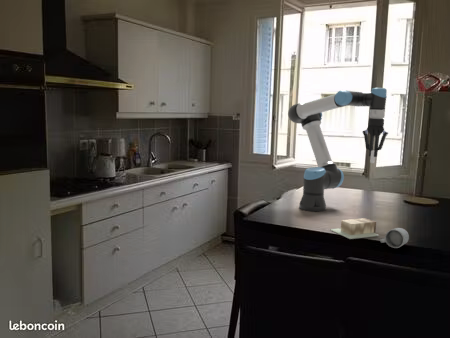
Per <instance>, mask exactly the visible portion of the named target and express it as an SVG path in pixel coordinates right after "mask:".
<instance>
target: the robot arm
mask: <svg viewBox="0 0 450 338" xmlns="http://www.w3.org/2000/svg"><path fill="white" fill-rule="evenodd" d="M387 93H388V92H387V89H386V88H384V87H373V88H371V91H367V92H366V91H355V90H343V89H342V90H339V91H337V92H336V93H334V94H331V95H327V96H325V97H321V98H318V99H316V100H311V101H308V102H305V103H304V102H299V103H295V104H292V105H291V106H290V107H289V109H288V111H287V112H288V113H287V115H288V118H289V121H291V122H292V123H295V124H301V127H302V129H303V130H305V131H306V133H307V138H308V140H309V143H310V146H311V149H312V152H313V155H314V158H315V161H316V164H317V166H314V167H312V166H311V167H308V168H306V169H305V170H304V172H303V173H304V174H303V185H302V186H303V188H302V192H303V193H302V196H301V199H300V201H299V205H298V208H299V209H301V210H304V211H309V212H323V211H326V210H327V204H326V203H327V202H326V199H325V194H324V193H325V190H331V189H332V190H333V189H336V188H339V187H340V186H342V184H343V182H344V179H345V175H344V172H343V170H341V169H340V168H338V166H337V164H336V163H335V162H334V161H332V157H331V154H330V152H329V148H328V146H327V143H326V140H325V137H324V134H323V131H322V129H321V126H320V125H321V124H322V119H323V113H324V112H327V111H331V110H335V109H340V108H343V107H347V106H349V107H350V106H352V107H369V113H368V117H369V118H368V124H367V125H368V126H367V128H366V129H365V130H363V131H362V134H363V137H364V143H365V149H366V150H368V156H369V157H370V160H369V163H370V164H375V162H376V161H375V160H376V158H377V157H378V151H381V150H382V149H383V146H384V143H385V140H386V137H387V136H388V134H389V131H386V130H385V128H384V123H385V119H384V118H385V113H386V103H387V102H386V101H387V95H388V94H387ZM381 134H382V136H381ZM380 136H381V138H380ZM379 141H380V142H379Z"/></svg>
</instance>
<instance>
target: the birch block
mask: <svg viewBox="0 0 450 338" xmlns="http://www.w3.org/2000/svg"><path fill="white" fill-rule="evenodd" d="M340 223H341V224H340V228H341V231H342V232H345V233H347V234H349V235H356V234H366V233H376V231H377V229H376V227H377V221H375V220H372V219H371V218H370V219H369V218H366V217H363V218H362V217H360V218H352V219H351V218H350V219H341V221H340Z"/></svg>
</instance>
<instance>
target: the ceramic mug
mask: <svg viewBox="0 0 450 338" xmlns="http://www.w3.org/2000/svg"><path fill="white" fill-rule="evenodd" d="M409 240H410V235H409V232H408V231H407V230H406V229H405V228H402V227H395V228H391V229H390V230H388V231H386V233H385V236H384V238H383V237H382V238H380V239H379V241H380V243H381V244H382V243H383V244H384V243H386V245H388V247H391V248H392V249H393V248H394V249H398V248H401V247H402V246H404V245H405V244H407V243H408V241H409Z"/></svg>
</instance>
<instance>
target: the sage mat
mask: <svg viewBox="0 0 450 338" xmlns="http://www.w3.org/2000/svg"><path fill="white" fill-rule="evenodd" d="M330 231H331V232H334V233H336V234H338V235H340V236H342V237H345V238H347V239H349V240H354V239H355V240H356V239H363V238H373V237H379V236H380V235H379V234H378V233H376V232H375V233H366V234H356V235H349V234H347V233H345V232H342V231H341V227H340V228H331V229H330Z"/></svg>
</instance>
